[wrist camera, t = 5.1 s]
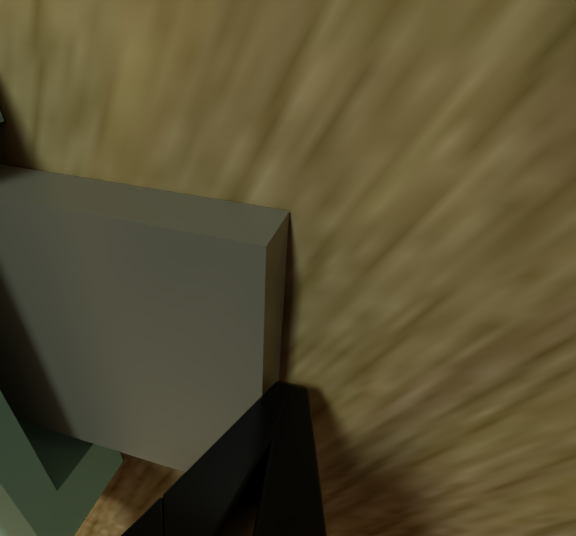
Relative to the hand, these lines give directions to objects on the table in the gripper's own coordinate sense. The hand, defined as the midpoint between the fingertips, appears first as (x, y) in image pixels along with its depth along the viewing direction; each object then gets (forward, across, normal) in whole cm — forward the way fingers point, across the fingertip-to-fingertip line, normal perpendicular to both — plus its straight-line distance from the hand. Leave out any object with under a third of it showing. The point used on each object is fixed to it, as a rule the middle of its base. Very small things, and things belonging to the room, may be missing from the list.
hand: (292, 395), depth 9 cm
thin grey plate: (+1, +6, 0) cm, 6 cm away
